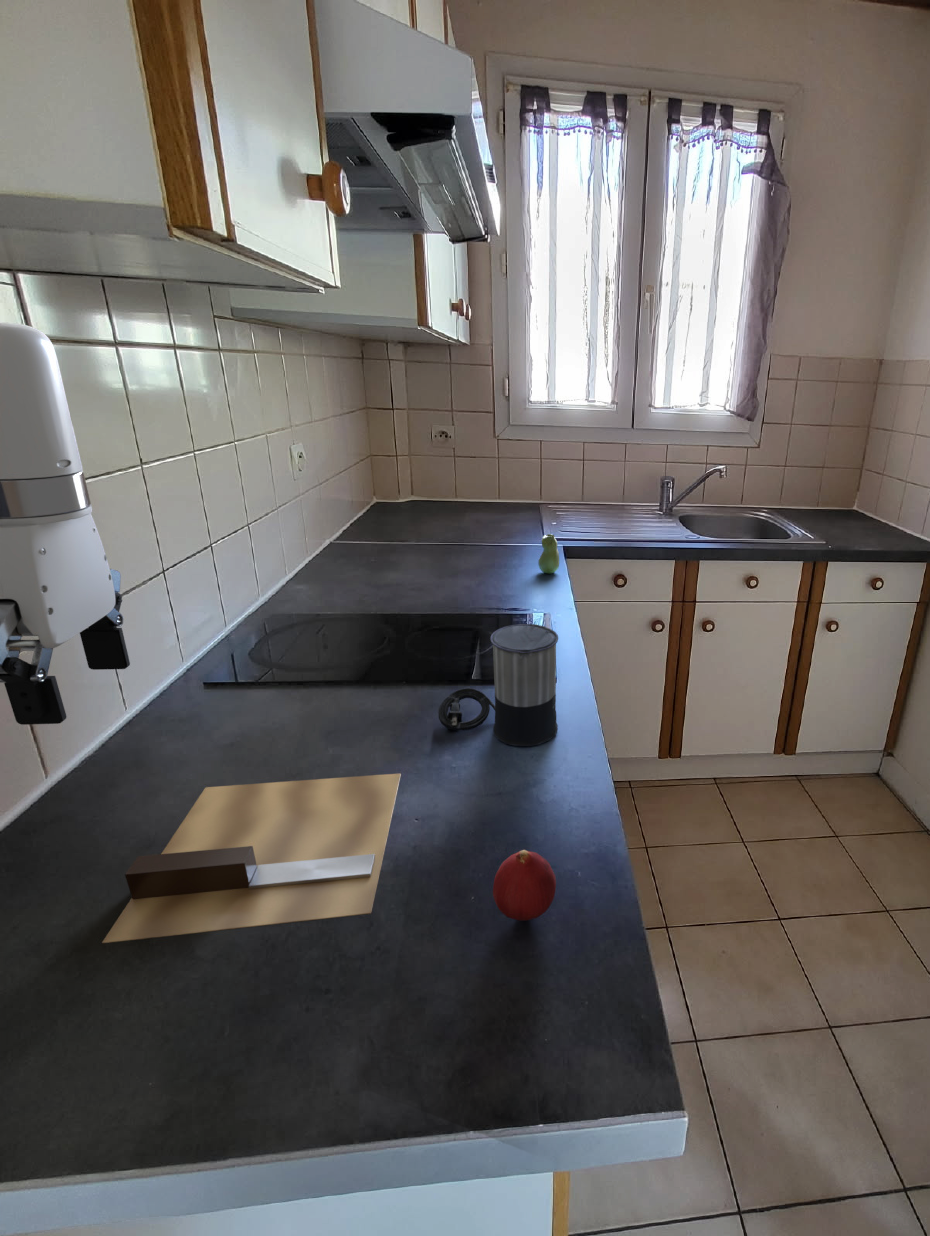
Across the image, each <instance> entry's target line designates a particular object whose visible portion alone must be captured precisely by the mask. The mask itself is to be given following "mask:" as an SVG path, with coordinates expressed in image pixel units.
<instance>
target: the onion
mask: <svg viewBox="0 0 930 1236" xmlns="http://www.w3.org/2000/svg"><path fill="white" fill-rule="evenodd" d="M492 885H493V886H492V896H493V900H494V903H495V905H496V907H497V909H498V910H499V911H500V912H501V914H503V915H504V916H505V917H507V918H509V919H512V920H515V921H530V920H534V919H537V918H540V916H542V915H543V914H545V913H546V912H547V911H548V909H549V908H550V906H551V905H552V903H553V901H554V900H555V895H556V888H557V879H556V875H555V872H554V870H553V868H552V866H551V863H550V862H549V861H548V860H547V859H546V858H545V857H543V856H542V855H540V854H539V853H538V852H535V851H531V850H526V849H521V850H519V851H517V852H515V853H513V854H511V855H510V856H508V857H507V858H505V860H503V862H502V863H501V864H500V866H499V868H498V870H497V871H496V873H495V876H494V879H493V884H492Z"/></svg>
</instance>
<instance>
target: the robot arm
mask: <svg viewBox="0 0 930 1236" xmlns="http://www.w3.org/2000/svg"><path fill="white" fill-rule="evenodd" d="M60 368H61V367H60V364H59V361H58V356H57V353H56V350H55V347H54V345H53V343H52V341H51V339H50V337H48V336H47V335H46V334H45V333H44V332H43V331H42V330H40V329H38V328H36V327H33V326H30V325H26V324H22V323H15V322H7V321H6V322H5V321H0V684H3V685H4V688H5V690H6V694H7V697H8V700H9V703H10V706H11V710H12V713H13V716H14V719H15V722H16V723H17V724H19V725H22V726H24V725H26V726H27V725H29V726H30V725H59V724H61V723H63V722H64V721H66V719H67V713H66V709H65V705H64V702H63V699H62V694H61V692H60V687H59V684H58V680H57V677H56V676H55V675H48V674H49V669H50V666H51V661H52V656H53V652H54V649H55V648H58V647H59V646H61V645H63V644H64V643H66V642H68V641H70V640H71V639H73V638H74V637H76V636H78V634H79V637H80V640H81V644H82V647H83V651H84V655H85V659H86V662H87V663H86V664H87V666H88V668H89V669H90V670H94V671H96V670H97V671H99V670H101V671H102V670H126V669H127V668H129V666H131V662H130V661H131V660H130V657H129V652H128V649H127V643H126V640H125V636H124V631H123V628H122V626H123V624H124V616H123V614H122V613H121V612H120V610H121V606H122V602H123V596H122V595H121V594H120V593H121V579H122V578H121V573H120V571H118V570H116V569H114V568H110V565H109V561H108V558H107V555H106V551H105V548H104V545H103V542H102V538H101V536H100V534H99V533H100V532H99V530H98V527H97V525H96V522H95V519H94V517H93V516H92V515H93V514H92V513H93V507H92V503H91V498H90V494H89V490H88V484H87V480H86V476H85V473H84V468H83V464H82V460H81V455H80V450H79V447H78V442H77V438H76V434H75V428H74V425H73V419H72V416H71V412H70V408H69V403H68V399H67V394H66V391H65V386H64V381H63V377H62V372H61V369H60ZM22 637H37V638H38V639H22ZM21 652H33V654H32V658H31V662H30V663H29V662H27V661H26V660H24V659H21V658H19V657H20V654H21Z"/></svg>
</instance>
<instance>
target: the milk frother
mask: <svg viewBox="0 0 930 1236" xmlns="http://www.w3.org/2000/svg"><path fill="white" fill-rule="evenodd" d="M489 639H490V642H491V644H492V654H493V655H492V656H493V658H492V659H493V679H494V682H493V683H494V703H493V702H492V700H491V699H490V698H489V697H488V696H487V695H486V694H485V693H483V692H482V691H480V690H478V689H476V688H471V687H466V688H460V689H457V690H455V691H454V692H452V693H450V694H449V695H448V696H446V698H444V700H443V701H442V702H441V703H440V705H439V708H438V720H439V721H440V723H441V725H442V726H444V727H445V728H447V729H449V730H454V731H469V730H473V729H476V728H478V727H480V726H481V725H482V724H484V723H485V721H486V720H487V719H488V717H489V714H490V709H491V708H490V707H492V709H493V710H494V724H493V728H492V729H493V730H492V731H493V735H494V736H495V737H496V739H498V741H500V742H502V743H504V744H506V745H508V746H509V745H510V746H515V747H534V746H538V745H541V744H544V743H546V742H548V741H550V740H552V739H553V738H554V737H555V736H556V734H557V733H558V730H559V729H558V728H559V727H558V726H559V725H558V723H557V710H556V702H557V693H556V691H557V690H556V689H557V643H558V642H559V635H558V633H557V632H556V631H555V630H553V629H552V628H549V627H547V626H545V625H539V624H536V623H529V624H528V623H518V624H511V625H505V626H503V627H500V628H498V629H497V630H495V631H494V632H492V634H491V635H490V637H489ZM465 699H471V700H474V701H476V702H477V703H478V704H480V707H481V711H480V713H479V714H478V715H477V716H476V717H473V719H471V720H467V721H463V720H462V719H463V712H462V711H461V704H460V701H462V700H465ZM449 710H450V711H449Z"/></svg>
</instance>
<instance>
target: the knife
mask: <svg viewBox="0 0 930 1236" xmlns="http://www.w3.org/2000/svg"><path fill="white" fill-rule="evenodd" d="M374 860H375V854H369V855H358V856H347V857H337V858H326V859H316V860H305V861H295V862H284V863H274V864H263V865H258V866H257V864H256V859H255V855H254V850H253V846H247V847H236V848H225V849H213V850H202V851H191V852H180V853H169V854H161V853H160V854H159V853H158V854H149V855H138V856H137V857H136V858H135V860H133V862H132V863H131V865H130V866H129V868H128V870H127V871H126V872H125V873H124V876H125V880H126V883H127V887H128V890H129V893H130V896H131V898H132V899H143V898H152V897H162V896H172V895H182V894H192V893H202V892H212V891H222V890H232V889H242V888H249V889H254V888H264V887H274V886H283V885H293V884H303V883H313V882H323V881H333V880H343V879H353V878H363V877H371V873H372V868H373V864H374Z"/></svg>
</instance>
